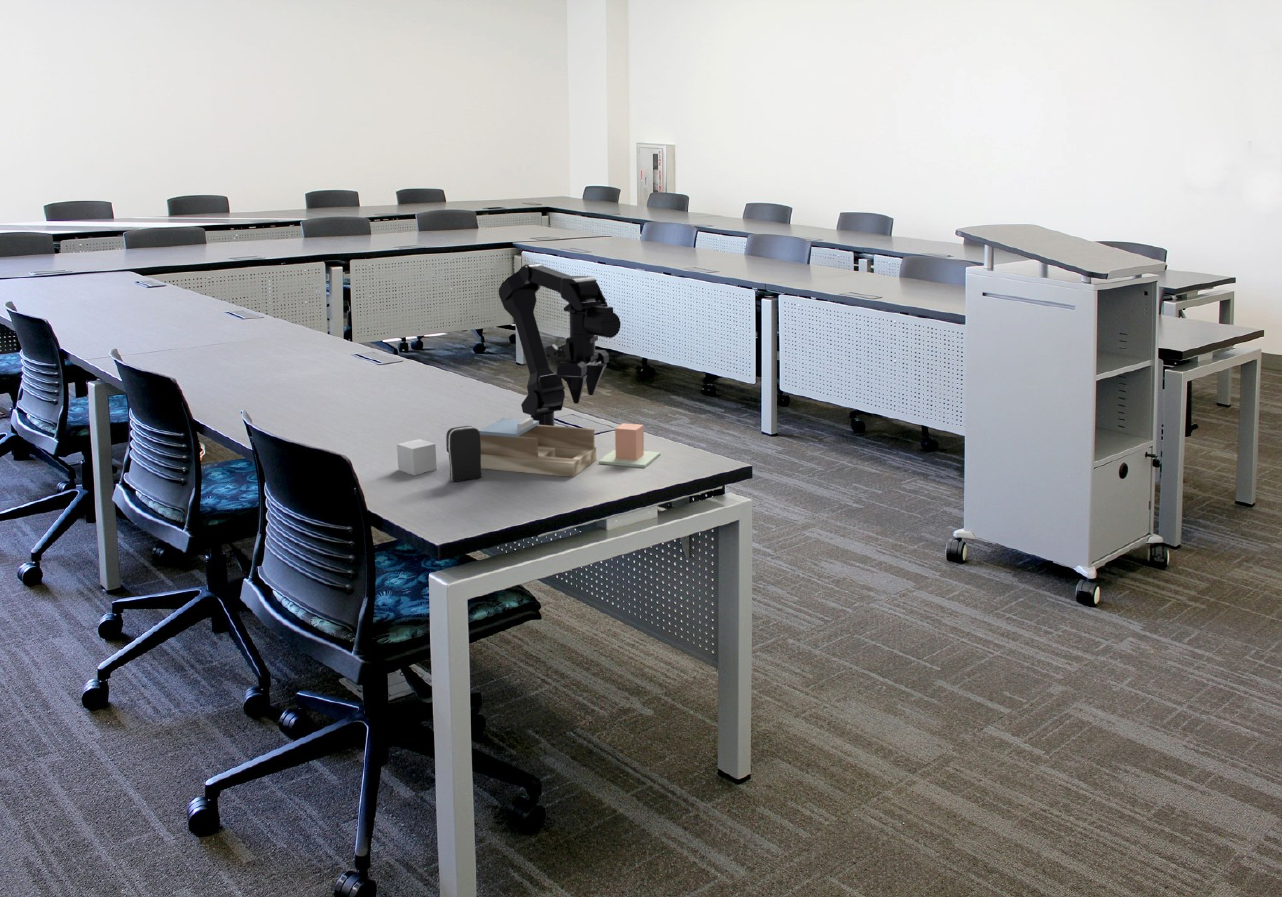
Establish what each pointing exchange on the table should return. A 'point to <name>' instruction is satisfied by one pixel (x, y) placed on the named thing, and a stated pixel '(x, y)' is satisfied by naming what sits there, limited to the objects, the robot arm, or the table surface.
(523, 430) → the cover
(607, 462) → the sage mat
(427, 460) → the white cube
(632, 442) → the block
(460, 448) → the battery charger
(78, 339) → the table surface
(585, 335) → the robot arm
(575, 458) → the open storage box
